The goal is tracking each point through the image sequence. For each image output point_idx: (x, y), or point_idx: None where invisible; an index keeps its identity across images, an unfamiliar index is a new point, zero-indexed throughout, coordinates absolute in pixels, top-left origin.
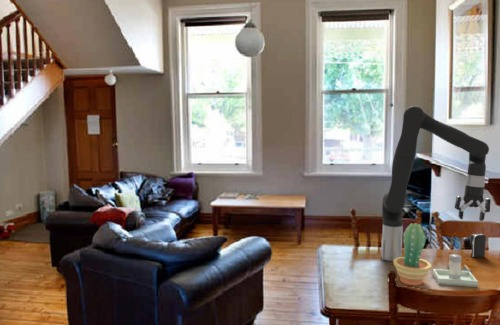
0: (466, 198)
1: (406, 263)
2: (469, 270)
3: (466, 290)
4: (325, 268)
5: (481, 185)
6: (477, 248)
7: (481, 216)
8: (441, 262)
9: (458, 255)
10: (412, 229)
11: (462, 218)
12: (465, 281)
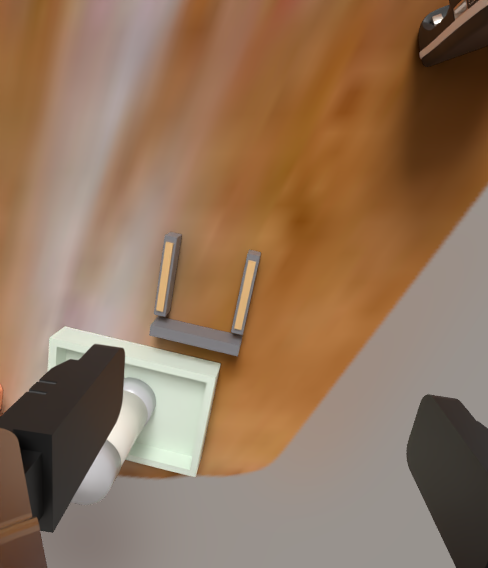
0: None
1: None
2: (229, 350)
3: (144, 477)
4: None
5: None
6: (475, 41)
7: (437, 519)
8: (164, 158)
9: (98, 474)
10: None
11: (110, 422)
12: (149, 461)
